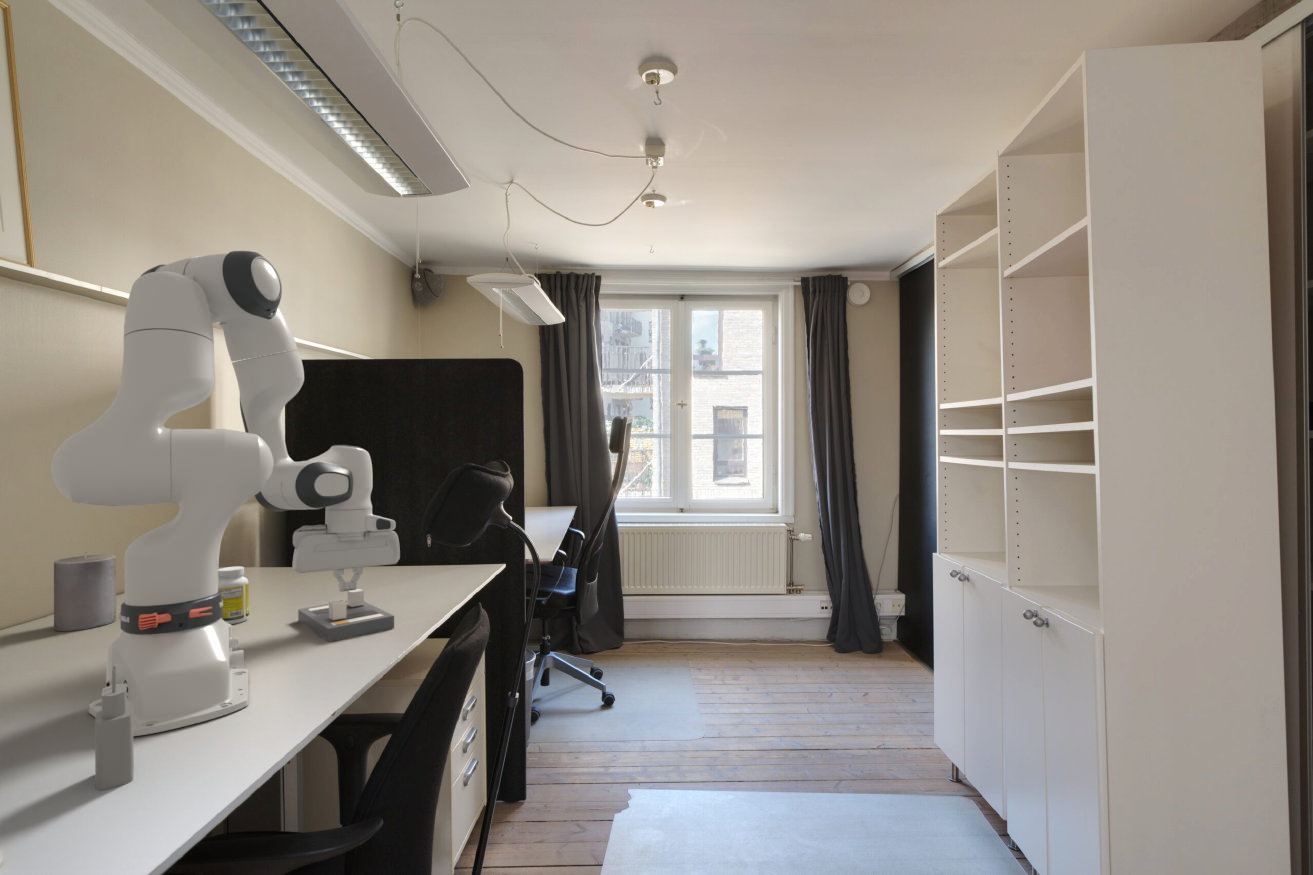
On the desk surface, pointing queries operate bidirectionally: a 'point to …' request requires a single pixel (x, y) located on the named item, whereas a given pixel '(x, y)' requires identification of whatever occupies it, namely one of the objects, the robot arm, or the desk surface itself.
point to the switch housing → (345, 621)
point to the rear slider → (355, 597)
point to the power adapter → (114, 737)
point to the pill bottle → (234, 594)
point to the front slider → (337, 610)
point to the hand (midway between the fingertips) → (347, 590)
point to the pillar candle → (84, 592)
